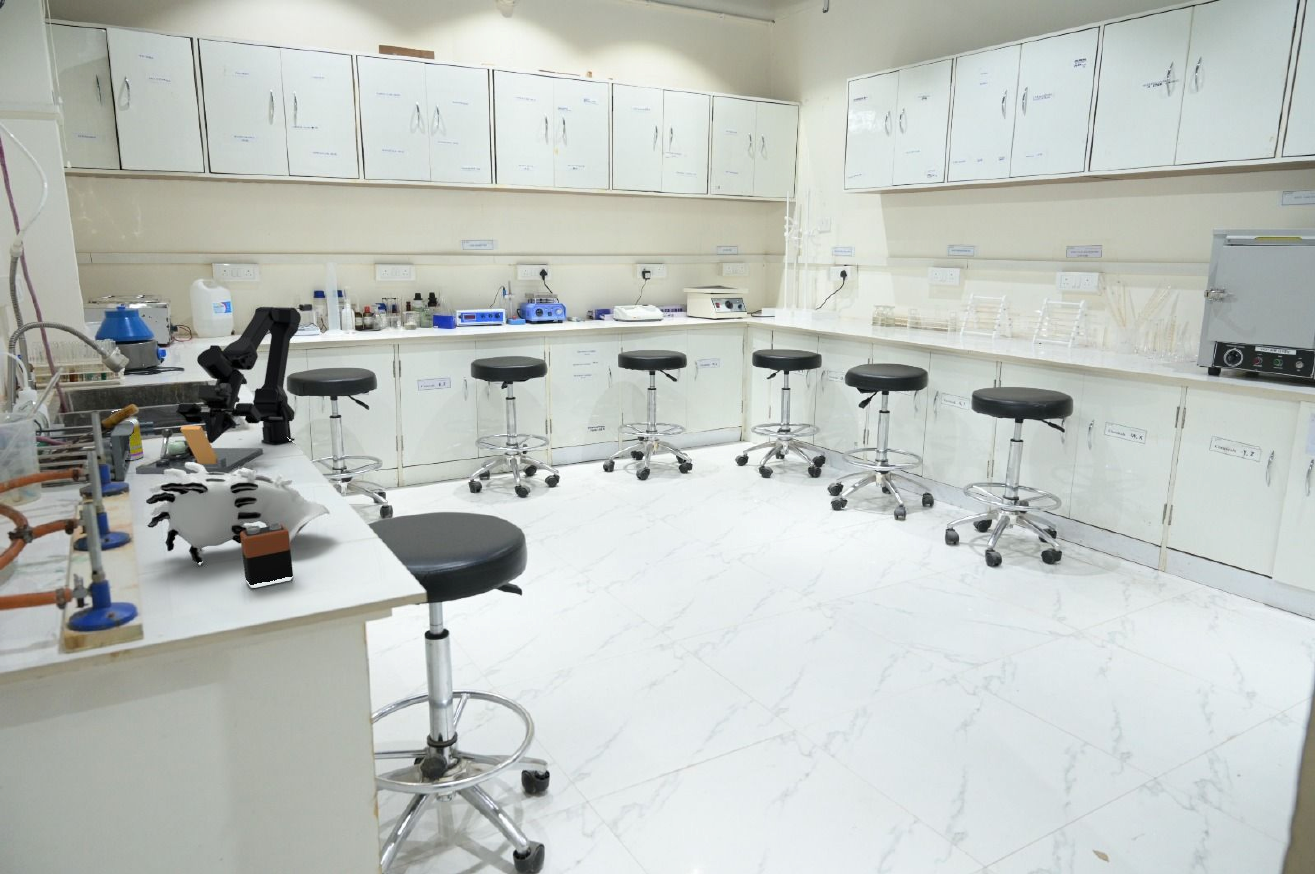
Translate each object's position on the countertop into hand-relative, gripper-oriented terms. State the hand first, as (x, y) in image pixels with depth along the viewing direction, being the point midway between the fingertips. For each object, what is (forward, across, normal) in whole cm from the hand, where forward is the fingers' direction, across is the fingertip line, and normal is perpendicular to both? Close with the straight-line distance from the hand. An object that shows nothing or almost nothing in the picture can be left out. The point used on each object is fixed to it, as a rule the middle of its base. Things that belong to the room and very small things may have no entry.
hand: (209, 442), depth 206 cm
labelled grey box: (-7, -13, +13) cm, 20 cm away
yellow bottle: (-3, -29, +14) cm, 32 cm away
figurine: (+43, +34, -33) cm, 64 cm away
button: (-2, -13, +9) cm, 16 cm away
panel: (0, -7, +11) cm, 13 cm away
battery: (+53, +45, -43) cm, 82 cm away
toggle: (+3, -13, +4) cm, 14 cm away
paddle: (+4, 0, +3) cm, 5 cm away
